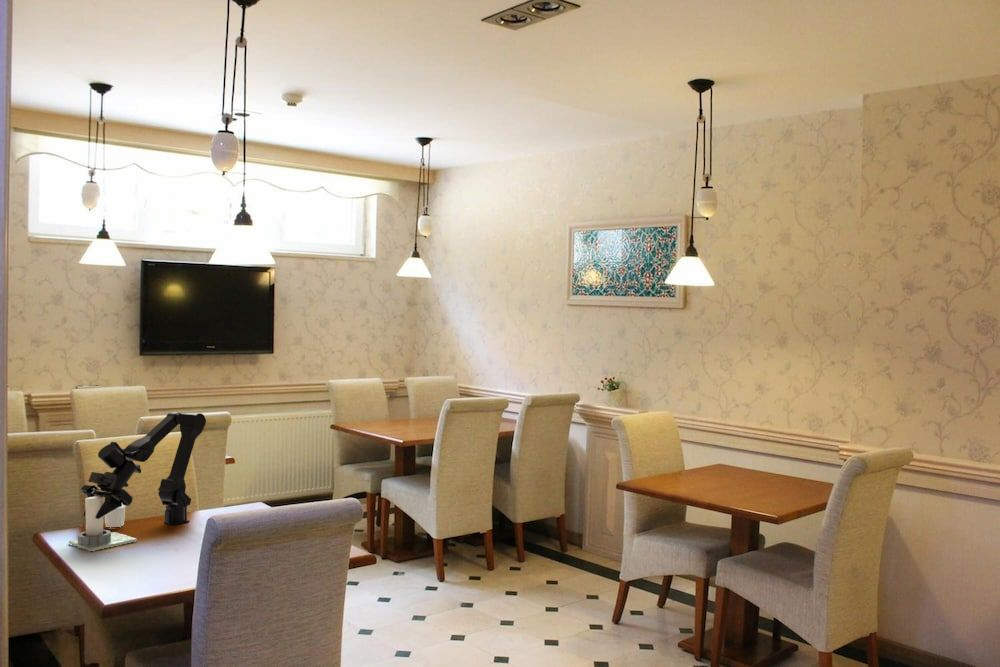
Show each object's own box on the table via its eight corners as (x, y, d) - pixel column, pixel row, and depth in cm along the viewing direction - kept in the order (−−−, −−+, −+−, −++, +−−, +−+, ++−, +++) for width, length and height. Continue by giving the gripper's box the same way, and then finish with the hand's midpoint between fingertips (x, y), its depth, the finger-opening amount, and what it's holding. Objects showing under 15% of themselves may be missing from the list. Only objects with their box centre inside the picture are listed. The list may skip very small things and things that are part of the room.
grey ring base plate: (114, 534, 282) (114, 524, 282) (136, 541, 274) (136, 530, 274) (68, 544, 271) (68, 533, 270) (90, 551, 262) (90, 540, 262)
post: (102, 536, 274) (102, 495, 274) (103, 539, 269) (103, 498, 269) (85, 537, 272) (85, 497, 271) (86, 541, 267) (85, 500, 267)
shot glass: (119, 528, 290) (119, 508, 290) (100, 528, 291) (99, 508, 290) (129, 524, 297) (129, 504, 297) (109, 523, 297) (109, 503, 297)
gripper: (85, 459, 278) (54, 499, 268) (124, 464, 269) (94, 506, 260) (106, 479, 285) (77, 519, 275) (145, 484, 276) (116, 526, 267)
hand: (90, 517), depth 269 cm, fingers open, 5 cm apart
